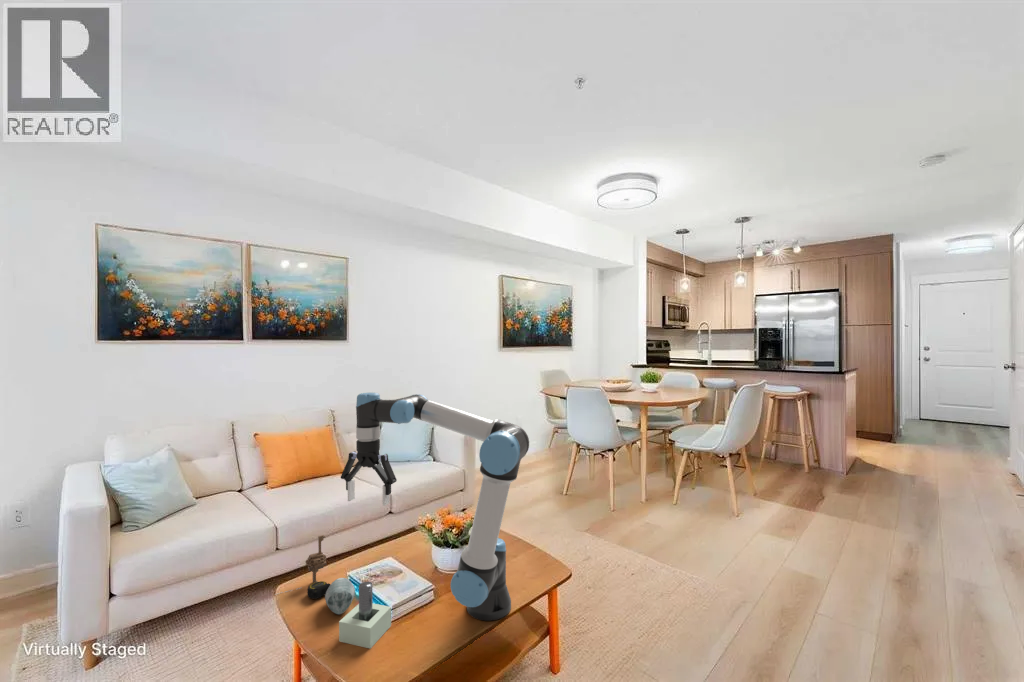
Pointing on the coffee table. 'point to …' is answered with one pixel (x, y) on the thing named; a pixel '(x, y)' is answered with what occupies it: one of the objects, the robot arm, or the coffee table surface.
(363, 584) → the grey metal cylinder
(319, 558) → the ostrich figurine
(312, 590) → the tape measure
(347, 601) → the grey rounded lump
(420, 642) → the coffee table surface
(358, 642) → the green block with hole
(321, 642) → the coffee table surface
